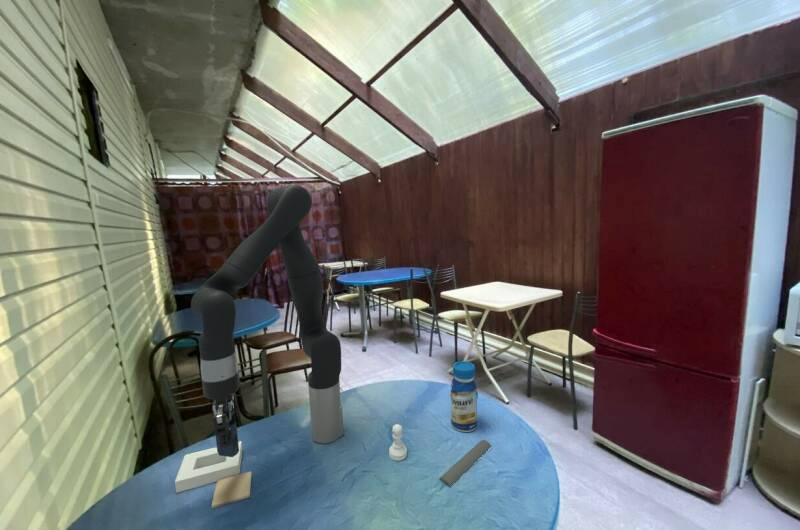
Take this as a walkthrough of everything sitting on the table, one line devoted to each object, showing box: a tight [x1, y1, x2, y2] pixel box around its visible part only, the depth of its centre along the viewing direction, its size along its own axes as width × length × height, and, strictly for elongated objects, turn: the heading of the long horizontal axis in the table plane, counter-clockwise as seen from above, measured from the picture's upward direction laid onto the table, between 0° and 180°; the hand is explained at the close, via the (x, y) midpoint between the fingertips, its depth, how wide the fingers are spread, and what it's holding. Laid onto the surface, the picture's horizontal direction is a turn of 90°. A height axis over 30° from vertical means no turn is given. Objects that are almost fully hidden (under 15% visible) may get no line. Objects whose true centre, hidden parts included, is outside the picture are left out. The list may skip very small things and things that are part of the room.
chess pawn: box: [388, 423, 408, 462], centre depth 90 cm, size 5×5×9 cm
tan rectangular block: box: [211, 470, 252, 509], centre depth 80 cm, size 8×8×1 cm
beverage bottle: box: [449, 360, 479, 433], centre depth 101 cm, size 8×8×20 cm
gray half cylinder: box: [438, 439, 492, 488], centre depth 87 cm, size 4×20×2 cm, turn 134°
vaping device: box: [214, 408, 239, 457], centre depth 78 cm, size 3×5×12 cm, turn 78°
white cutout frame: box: [174, 440, 244, 493], centre depth 86 cm, size 14×10×3 cm
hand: (227, 439), depth 78 cm, fingers closed on vaping device, 3 cm apart
